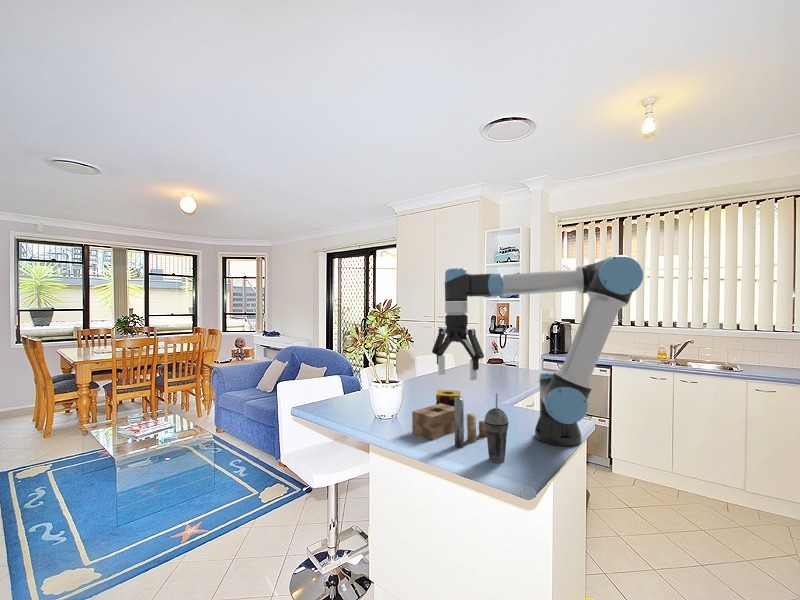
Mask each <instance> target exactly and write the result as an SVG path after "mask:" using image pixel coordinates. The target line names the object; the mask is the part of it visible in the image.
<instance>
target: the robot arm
mask: <svg viewBox="0 0 800 600" xmlns="http://www.w3.org/2000/svg"><path fill="white" fill-rule="evenodd" d="M444 275H445V276H444V299H445V300H444V312H445V314H446V315H445V316H444V320H445V321H444V323H445V326H446V327H439V328H438V334H437V336H436V340H435V342H434V345H433V348H432V350H431V352H432V354H434V355H435V356H436V365H438V367H437V372H438V373H437V375H438V376H440V375H445V374H446V357H445V354H444V353H445V352H446V350H447V349H448V348H449V346H450V344H452V343H453V342H456V343H460V344H462V346H463V348H464V349H465V350H466V352H467V354H468V355H469V357H470V358H471V359H470V360H469V380H470V381H475V380H478V370H479V365H480V363H479V360H480V359H481V360H482V359H484V357H485V355H484V353H483V351H482V347H481V345H480V343H479V340H478V338H477V334H476V329H474V328H472V329H471V328H470V329H468V324H469V322H468V321H469V320H468V317H469V316H468V315H467V313H468V297H483V298H491V297H492V298H493V297H495V298H496V297H503V296H505V297H506V296H518V295H519V296H520V295H533V294H549V293H562V292H578V293H579V294H587V295H588V297H589V301H588V304H587V306H586V308H585V311H584V314H583V315H582V318H581V320H580V323H579V325H578V327H577V330H576V332H575V335H574V337H573V340H572V342H571V345H570V347H569V349H568V352H567V354H566V356H565V358H564V362H563V364H562V366H561V368H560V369H558V370H556V371H554V372H541V373H540V374H539V380H538V383H539V416H538V420H537V423H536V426H535V429H534V437H535V438H536V440H537V441H539V442H542V443H545V444H548V445H553V446H559V447H571V446H573V447H575V446H577V445H580V444H581V443H582V441H583V440H582V432H581V429H580V427H579V424H578V422H581V421H582V420H584V418H585V417H586V416H587V412H588V408H589V406H588V405H589V403H588V399H589V396H590V394H591V392H592V390H593V386H592V385H591V382H590V379H591V377H592V375H593V372H594V370H595V368H596V366H597V363H598V361H599V359H600V356H601V354H602V351H603V349H604V346H605V344H606V342H607V339H608V338H609V334H610V332H611V330H612V327H613V325H614V322H615V320H616V318H617V316H618V313H619V310H620V309H622V308H624V307H626V306H628V304H629V302H630V299H631V298H632V295H633V293H634V292H635V291H636V290H638V288H639V287H640V286H641V285H642V283H643V280H644V271H643V268H642V267H641V264H640V263H639V262H638V261H637V260H636V259H634V258H632V257H631V256H629V255H628V256H627V255H623V254H622V255H612V256H609V257H607V258H605V259H603V260H600V261H597V262H594V263H590V264H585V265H578V266H577V267H576V268H572V269H563V270H562V269H560V270H547V271H537V272H534V271H533V272H525V273H524V272H523V273H513V274H512V273H511V274H510V273H509V274H502V273H480V274H479V273H478V274H477V273H475V274H472V273H471V274H470V273H468V270H467V268H464V267H463V268H458V267H457V268H454V267H453V268H448V269H446V270H445V272H444Z"/></svg>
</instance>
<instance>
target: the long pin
mask: <svg viewBox="0 0 800 600" xmlns="http://www.w3.org/2000/svg"><path fill="white" fill-rule="evenodd" d="M464 407H465V406H464V397H461V396H460V397H455V398H454V408H455V432H454V447H455V448H458V449H461V448H465V440H464V439H465V429H464V428H465V426H464V425H465V423H464V421H465V420H464V419H465V418H464V415H465V413H464Z"/></svg>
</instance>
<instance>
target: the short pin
mask: <svg viewBox="0 0 800 600" xmlns="http://www.w3.org/2000/svg"><path fill="white" fill-rule="evenodd" d="M484 421H485V420H479V421H478V436H479V437H480V438H487V432H486V427H485V422H484Z"/></svg>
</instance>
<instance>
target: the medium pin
mask: <svg viewBox="0 0 800 600" xmlns="http://www.w3.org/2000/svg"><path fill="white" fill-rule="evenodd" d="M466 421H467V422H466V423H467V424H466V426H467V427H466V431H467V432H466V433H467V434H466V435H467V436H466V438H467V442H469V443H476V442H477V415H476V413H467V414H466Z"/></svg>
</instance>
